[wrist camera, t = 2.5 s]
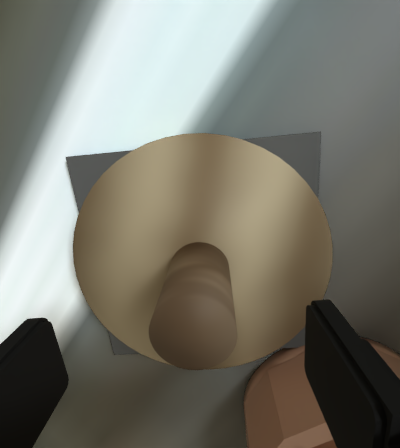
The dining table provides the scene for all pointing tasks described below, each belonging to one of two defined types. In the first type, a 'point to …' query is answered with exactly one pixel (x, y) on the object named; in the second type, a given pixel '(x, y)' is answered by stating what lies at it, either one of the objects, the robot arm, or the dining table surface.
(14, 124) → the dining table surface
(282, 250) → the lid
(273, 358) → the bowl
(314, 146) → the mat
